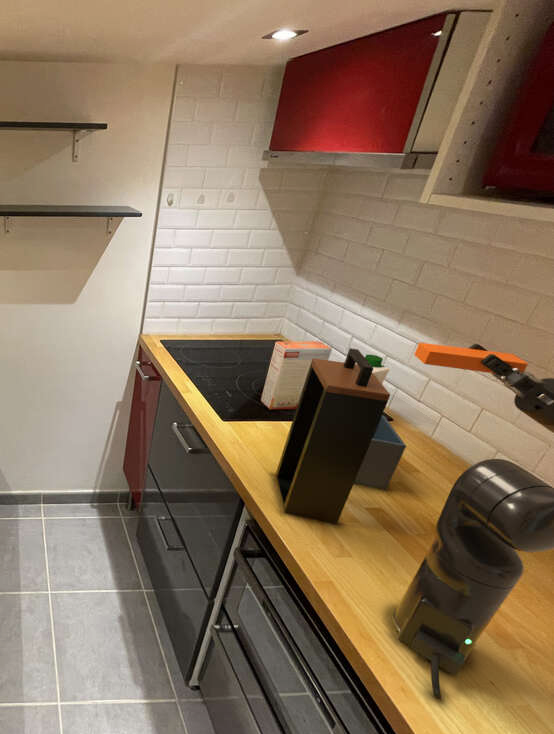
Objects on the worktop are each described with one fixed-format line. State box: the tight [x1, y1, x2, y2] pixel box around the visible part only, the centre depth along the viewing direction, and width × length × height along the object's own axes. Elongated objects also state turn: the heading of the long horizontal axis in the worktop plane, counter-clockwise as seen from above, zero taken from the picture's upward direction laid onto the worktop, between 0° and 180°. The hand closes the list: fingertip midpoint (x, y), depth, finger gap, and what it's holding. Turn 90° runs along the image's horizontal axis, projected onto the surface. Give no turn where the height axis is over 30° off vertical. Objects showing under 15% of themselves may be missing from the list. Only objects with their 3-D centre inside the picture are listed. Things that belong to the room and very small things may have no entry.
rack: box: [274, 348, 391, 525], centre depth 95 cm, size 10×13×36 cm
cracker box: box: [260, 340, 333, 410], centre depth 136 cm, size 14×6×21 cm, turn 92°
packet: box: [413, 342, 529, 374], centre depth 81 cm, size 14×4×3 cm, turn 70°
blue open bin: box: [354, 415, 407, 490], centre depth 110 cm, size 13×13×13 cm
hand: (479, 353), depth 80 cm, fingers closed on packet, 4 cm apart
